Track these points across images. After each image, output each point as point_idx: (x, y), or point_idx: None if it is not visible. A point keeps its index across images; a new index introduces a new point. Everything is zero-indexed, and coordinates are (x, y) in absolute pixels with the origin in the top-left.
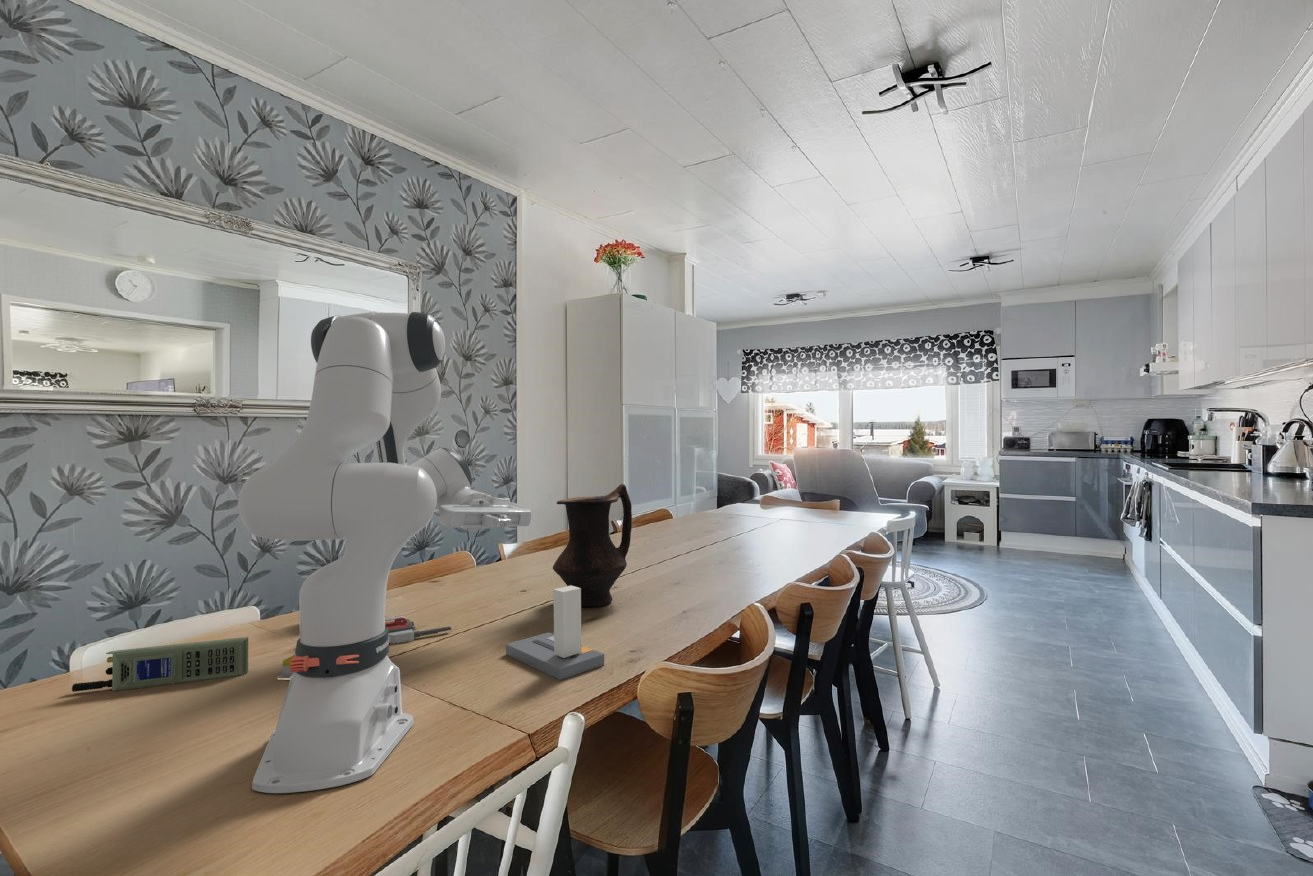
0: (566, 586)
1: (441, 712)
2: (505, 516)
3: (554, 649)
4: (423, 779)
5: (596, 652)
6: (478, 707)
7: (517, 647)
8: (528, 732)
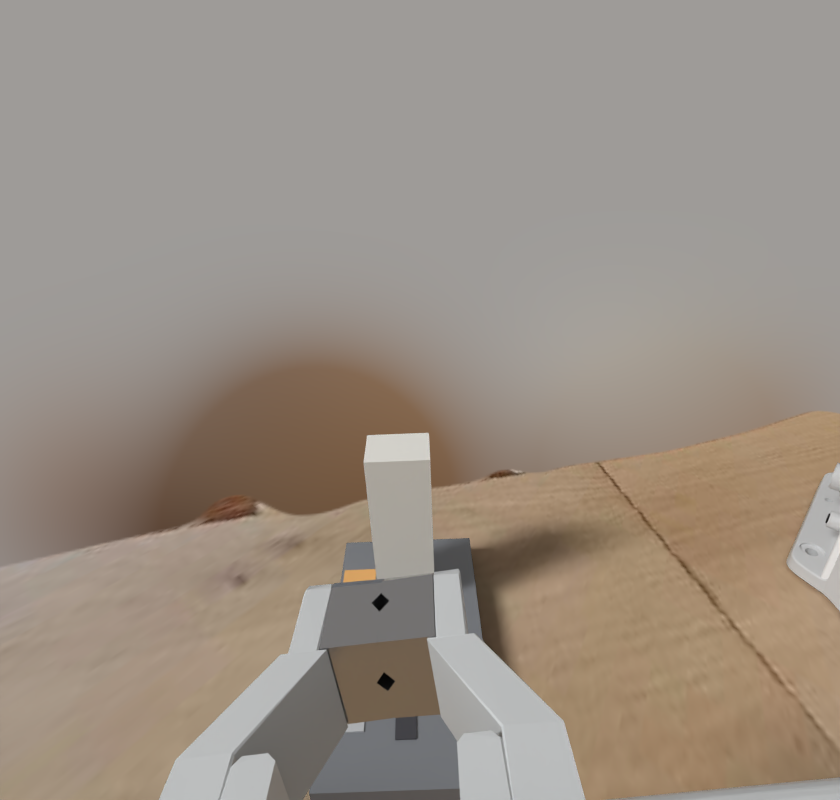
0: (381, 461)
1: (732, 576)
2: (255, 702)
3: None
4: (746, 452)
5: (350, 558)
6: (656, 554)
7: None
8: (596, 464)
